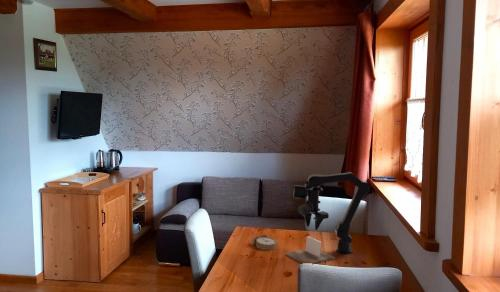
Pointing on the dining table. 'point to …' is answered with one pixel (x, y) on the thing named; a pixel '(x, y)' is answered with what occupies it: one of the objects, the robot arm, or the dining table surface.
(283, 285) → the dining table surface
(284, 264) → the dining table surface
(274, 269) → the dining table surface
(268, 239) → the alarm clock
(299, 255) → the board
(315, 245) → the tile
